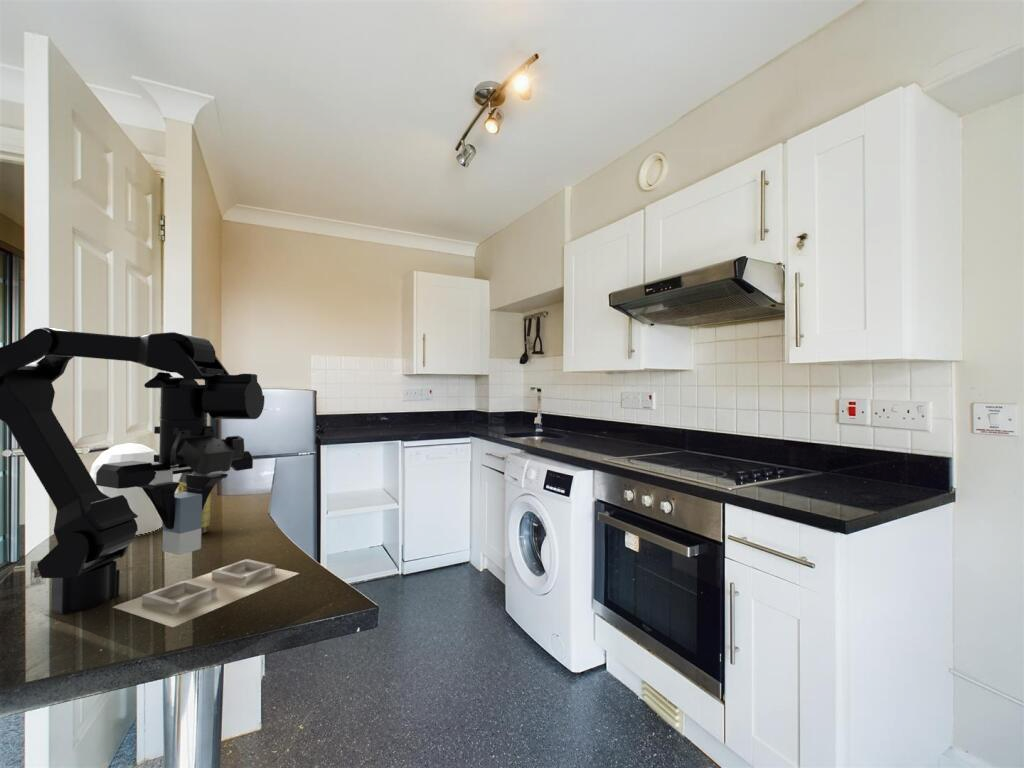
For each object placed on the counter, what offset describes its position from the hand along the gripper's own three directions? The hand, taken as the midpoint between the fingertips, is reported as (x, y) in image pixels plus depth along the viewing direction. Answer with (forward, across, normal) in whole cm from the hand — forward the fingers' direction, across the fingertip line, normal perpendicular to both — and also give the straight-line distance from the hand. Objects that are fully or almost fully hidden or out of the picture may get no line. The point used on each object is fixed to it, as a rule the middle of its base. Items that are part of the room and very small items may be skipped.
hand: (182, 525), depth 68 cm
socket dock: (+12, +5, 0) cm, 13 cm away
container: (+12, +19, +52) cm, 57 cm away
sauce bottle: (+12, +24, +36) cm, 45 cm away
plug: (+4, 0, 0) cm, 4 cm away
